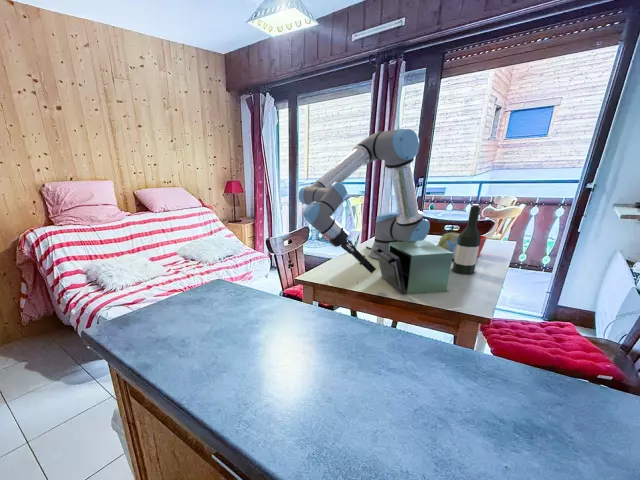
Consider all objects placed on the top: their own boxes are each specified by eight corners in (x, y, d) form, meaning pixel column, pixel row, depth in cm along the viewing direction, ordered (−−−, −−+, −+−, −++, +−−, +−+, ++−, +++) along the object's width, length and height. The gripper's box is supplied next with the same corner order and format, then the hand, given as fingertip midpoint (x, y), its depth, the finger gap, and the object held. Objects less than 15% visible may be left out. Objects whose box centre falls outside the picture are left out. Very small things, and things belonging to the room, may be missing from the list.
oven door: (396, 296, 130) (389, 261, 124) (377, 278, 148) (370, 247, 143) (406, 293, 130) (399, 257, 124) (385, 276, 148) (378, 244, 142)
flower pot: (482, 252, 172) (486, 234, 169) (482, 258, 164) (486, 239, 160) (459, 250, 178) (462, 233, 174) (458, 256, 169) (461, 237, 166)
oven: (406, 294, 130) (411, 255, 124) (385, 276, 148) (389, 242, 142) (446, 291, 130) (453, 252, 124) (420, 274, 149) (425, 240, 143)
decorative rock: (469, 231, 154) (460, 225, 168) (432, 240, 160) (427, 234, 173) (474, 258, 157) (465, 251, 171) (438, 266, 163) (432, 259, 177)
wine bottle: (472, 275, 144) (487, 206, 132) (451, 272, 148) (463, 205, 137) (474, 269, 150) (488, 203, 139) (453, 267, 154) (465, 202, 143)
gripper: (324, 237, 136) (361, 271, 143) (332, 245, 124) (372, 282, 131) (337, 223, 134) (374, 259, 141) (347, 230, 122) (386, 269, 129)
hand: (373, 270), depth 136 cm, fingers closed
